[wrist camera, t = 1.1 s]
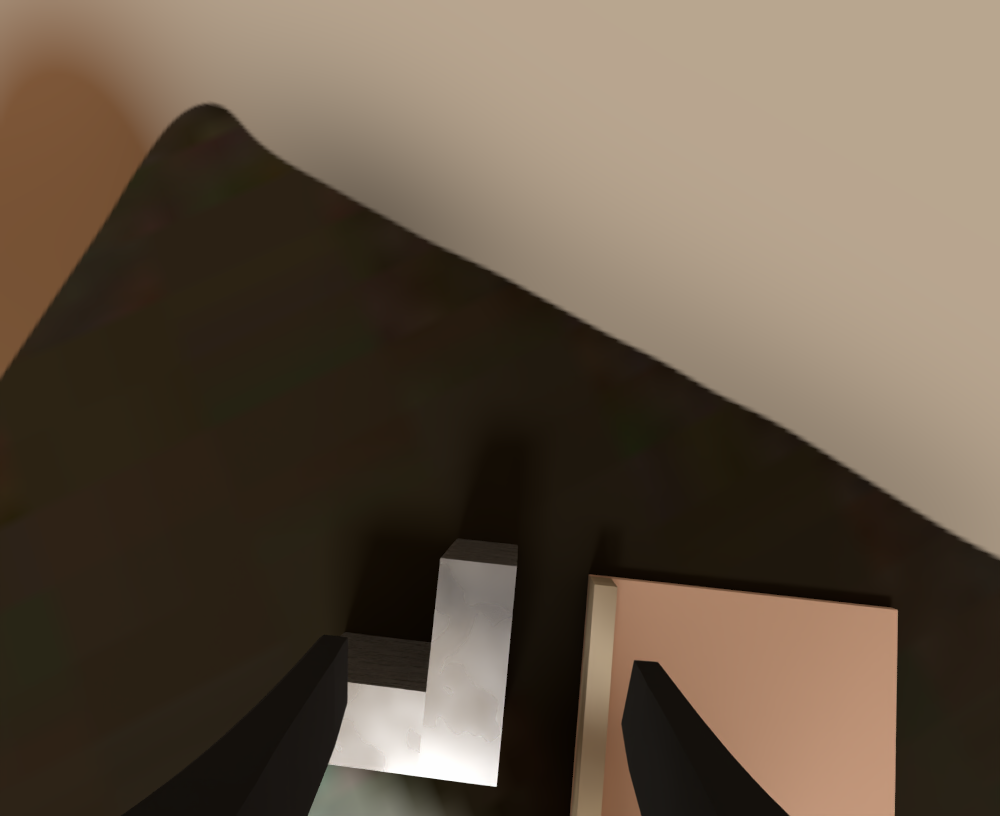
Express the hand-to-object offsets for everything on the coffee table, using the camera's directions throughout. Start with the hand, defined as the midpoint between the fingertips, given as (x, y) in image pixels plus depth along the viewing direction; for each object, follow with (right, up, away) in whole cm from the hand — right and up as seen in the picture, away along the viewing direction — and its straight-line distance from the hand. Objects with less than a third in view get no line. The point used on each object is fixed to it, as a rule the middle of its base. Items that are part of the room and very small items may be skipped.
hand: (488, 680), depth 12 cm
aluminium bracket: (-3, -3, +12) cm, 13 cm away
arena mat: (+11, -9, +10) cm, 17 cm away
